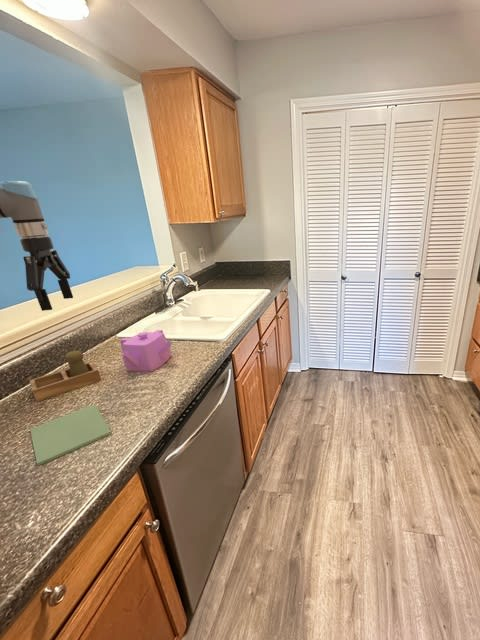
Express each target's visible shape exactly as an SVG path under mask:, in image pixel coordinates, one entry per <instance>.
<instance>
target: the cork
mask: <svg viewBox="0 0 480 640" xmlns="http://www.w3.org/2000/svg"><path fill="white" fill-rule="evenodd" d="M64 360H65V361H66V363H68V368H70V373H71V377H74V376H77V375H80V374H83V373H86V372H89V370H88V368H87V367H86V365H85V363H86V362H85V361H84V353H83V352H82V351H81V350H72V351H68V352H67V353H66V354H65V355H64Z"/></svg>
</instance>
